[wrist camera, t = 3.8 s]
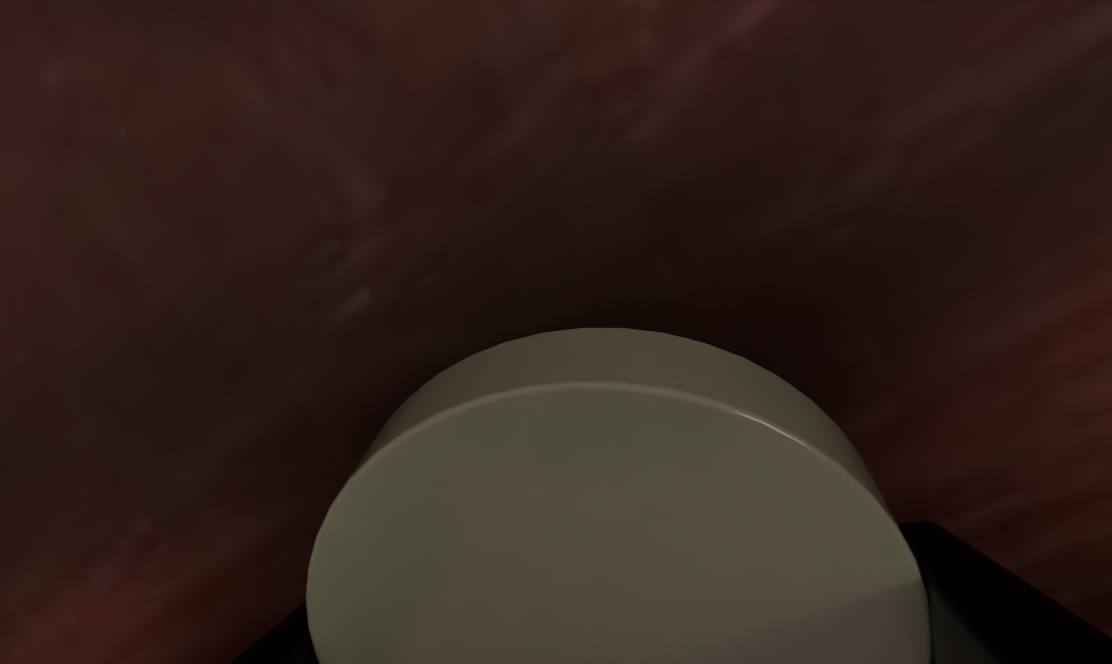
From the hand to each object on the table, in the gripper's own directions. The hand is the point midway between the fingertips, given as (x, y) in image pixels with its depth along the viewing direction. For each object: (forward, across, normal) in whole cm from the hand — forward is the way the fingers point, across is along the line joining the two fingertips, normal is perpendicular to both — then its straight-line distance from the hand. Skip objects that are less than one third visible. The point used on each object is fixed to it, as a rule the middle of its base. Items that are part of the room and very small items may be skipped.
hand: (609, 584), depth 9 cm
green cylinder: (+1, 0, 0) cm, 1 cm away
